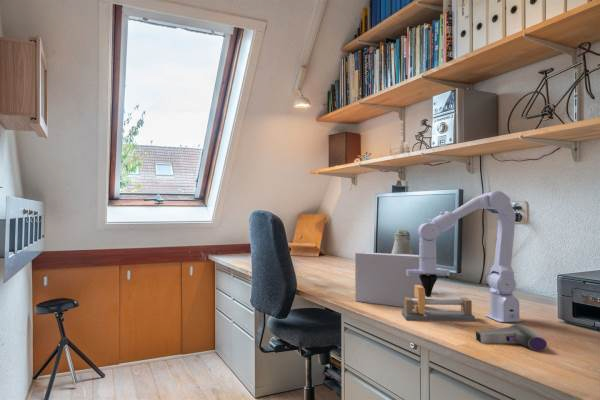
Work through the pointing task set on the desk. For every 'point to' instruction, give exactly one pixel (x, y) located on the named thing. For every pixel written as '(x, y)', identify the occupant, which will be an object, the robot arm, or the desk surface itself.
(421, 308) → the collar
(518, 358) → the desk surface
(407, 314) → the pipe stand
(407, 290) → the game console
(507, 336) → the infrared thermometer
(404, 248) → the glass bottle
